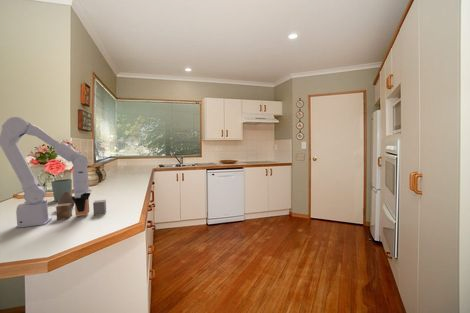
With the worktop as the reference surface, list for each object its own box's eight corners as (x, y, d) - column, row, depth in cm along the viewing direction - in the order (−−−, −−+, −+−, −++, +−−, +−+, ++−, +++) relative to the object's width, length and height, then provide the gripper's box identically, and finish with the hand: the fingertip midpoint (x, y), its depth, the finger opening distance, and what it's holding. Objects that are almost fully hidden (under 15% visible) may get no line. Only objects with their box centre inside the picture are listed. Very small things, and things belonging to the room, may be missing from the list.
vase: (55, 210, 116) (54, 193, 115) (69, 206, 122) (68, 190, 122) (64, 211, 113) (63, 194, 113) (78, 207, 120) (77, 191, 119)
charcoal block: (93, 215, 106) (93, 202, 105) (95, 213, 110) (95, 200, 109) (104, 214, 107) (104, 201, 107) (106, 211, 111) (105, 199, 111)
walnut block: (56, 220, 100) (56, 206, 100) (60, 217, 105) (59, 204, 104) (69, 218, 102) (68, 205, 102) (72, 215, 106) (71, 203, 106)
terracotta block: (75, 215, 103) (74, 202, 103) (78, 212, 107) (77, 200, 107) (87, 214, 105) (86, 201, 104) (89, 211, 109) (88, 199, 108)
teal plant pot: (64, 201, 134) (63, 181, 134) (47, 201, 134) (46, 181, 134) (76, 197, 144) (75, 178, 144) (61, 197, 144) (60, 179, 144)
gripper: (87, 182, 100) (89, 213, 100) (94, 178, 113) (95, 205, 114) (68, 183, 97) (69, 215, 98) (77, 179, 111) (78, 207, 111)
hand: (82, 210), depth 106 cm, fingers closed on terracotta block, 4 cm apart
